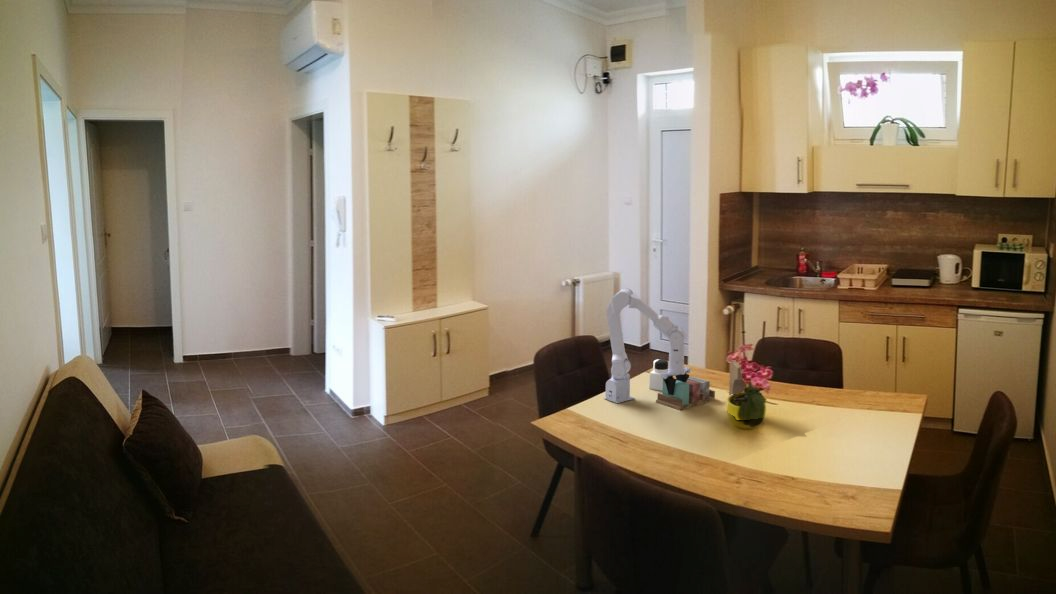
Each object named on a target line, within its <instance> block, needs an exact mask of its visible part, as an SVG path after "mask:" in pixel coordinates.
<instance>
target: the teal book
mask: <svg viewBox="0 0 1056 594" xmlns="http://www.w3.org/2000/svg"><path fill="white" fill-rule="evenodd" d="M661 394H664V395H667V396H670V397H673V398H676V399H679V400H682V401H683V402H682V406H683V405H686V404H689V383H685V382H682V381H678V380H676V383H675V387H674V394H673V395H669V394H668V391H667V387H666V384H665V382H664V380H663V390H662V392H661Z"/></svg>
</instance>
